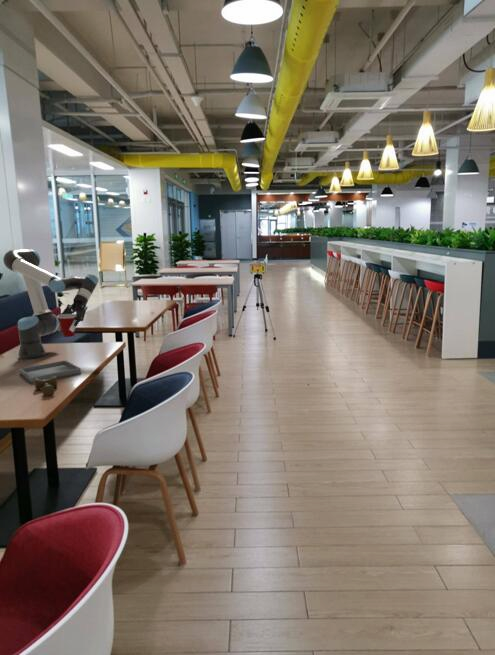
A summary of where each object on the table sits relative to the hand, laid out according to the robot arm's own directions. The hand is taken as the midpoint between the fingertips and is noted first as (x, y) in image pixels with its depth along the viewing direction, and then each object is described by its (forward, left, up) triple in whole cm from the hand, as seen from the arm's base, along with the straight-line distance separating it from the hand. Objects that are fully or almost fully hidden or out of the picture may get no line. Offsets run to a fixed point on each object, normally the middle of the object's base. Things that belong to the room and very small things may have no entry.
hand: (64, 330), depth 279 cm
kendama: (+46, -24, -19) cm, 56 cm away
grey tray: (+17, -15, -19) cm, 29 cm away
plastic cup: (-1, +3, -4) cm, 5 cm away
